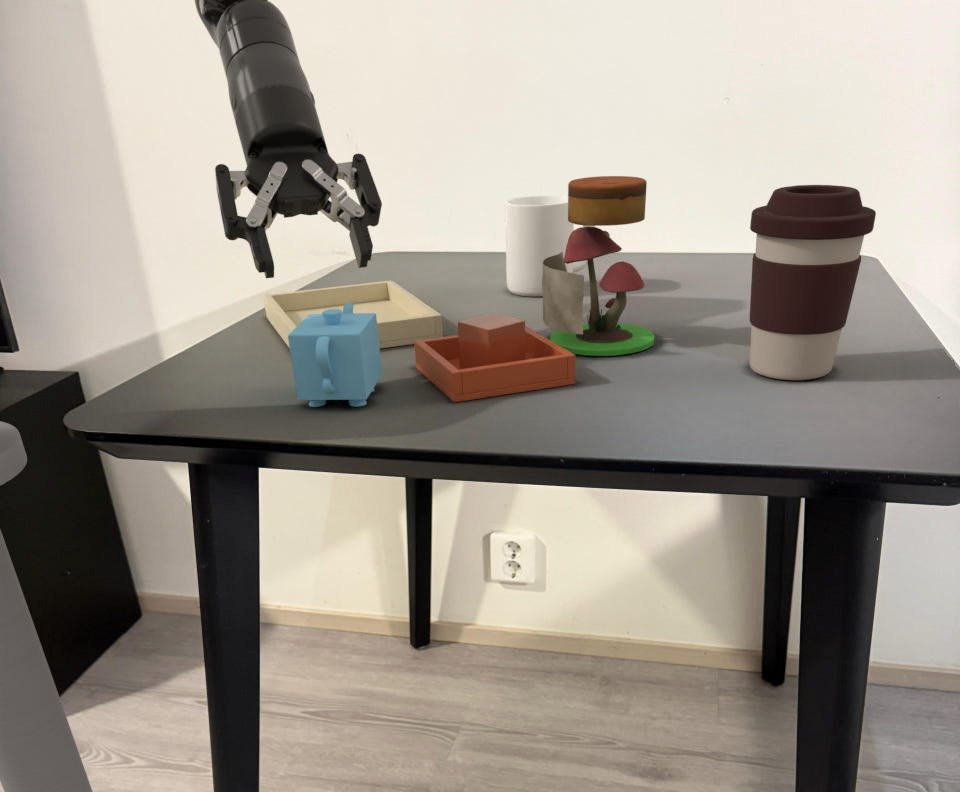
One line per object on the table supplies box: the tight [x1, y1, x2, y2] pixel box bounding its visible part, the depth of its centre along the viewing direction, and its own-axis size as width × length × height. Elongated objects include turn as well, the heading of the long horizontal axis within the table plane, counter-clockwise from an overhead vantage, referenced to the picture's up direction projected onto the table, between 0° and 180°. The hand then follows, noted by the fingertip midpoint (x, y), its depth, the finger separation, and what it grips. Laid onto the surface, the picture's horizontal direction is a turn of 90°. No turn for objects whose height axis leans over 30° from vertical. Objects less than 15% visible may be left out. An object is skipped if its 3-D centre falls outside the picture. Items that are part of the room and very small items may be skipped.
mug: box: [504, 195, 596, 298], centre depth 114 cm, size 12×8×10 cm
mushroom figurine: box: [542, 175, 655, 357], centre depth 91 cm, size 12×13×15 cm
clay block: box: [457, 312, 526, 369], centre depth 85 cm, size 4×4×4 cm
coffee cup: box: [749, 184, 877, 381], centre depth 80 cm, size 10×10×15 cm
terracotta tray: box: [413, 325, 577, 403], centre depth 86 cm, size 12×12×3 cm
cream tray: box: [262, 280, 444, 350], centre depth 103 cm, size 16×20×3 cm
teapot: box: [288, 303, 383, 408], centre depth 81 cm, size 12×6×8 cm, turn 174°
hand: (317, 267), depth 82 cm, fingers open, 8 cm apart
